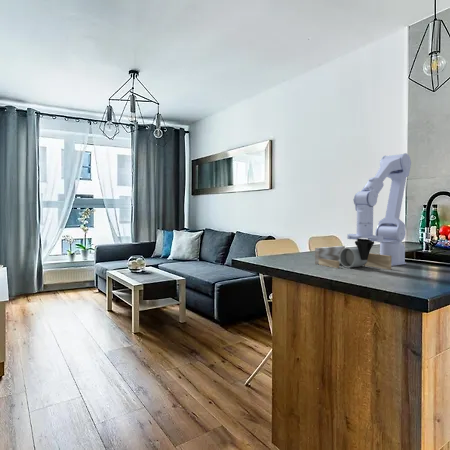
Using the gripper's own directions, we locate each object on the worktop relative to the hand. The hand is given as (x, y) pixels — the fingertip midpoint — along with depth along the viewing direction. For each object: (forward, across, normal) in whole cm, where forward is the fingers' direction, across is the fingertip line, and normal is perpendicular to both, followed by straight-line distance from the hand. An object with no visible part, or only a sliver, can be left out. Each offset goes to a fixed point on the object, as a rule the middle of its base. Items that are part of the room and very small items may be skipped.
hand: (364, 259), depth 135 cm
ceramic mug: (+4, -6, 0) cm, 7 cm away
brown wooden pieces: (+3, -6, 0) cm, 7 cm away
